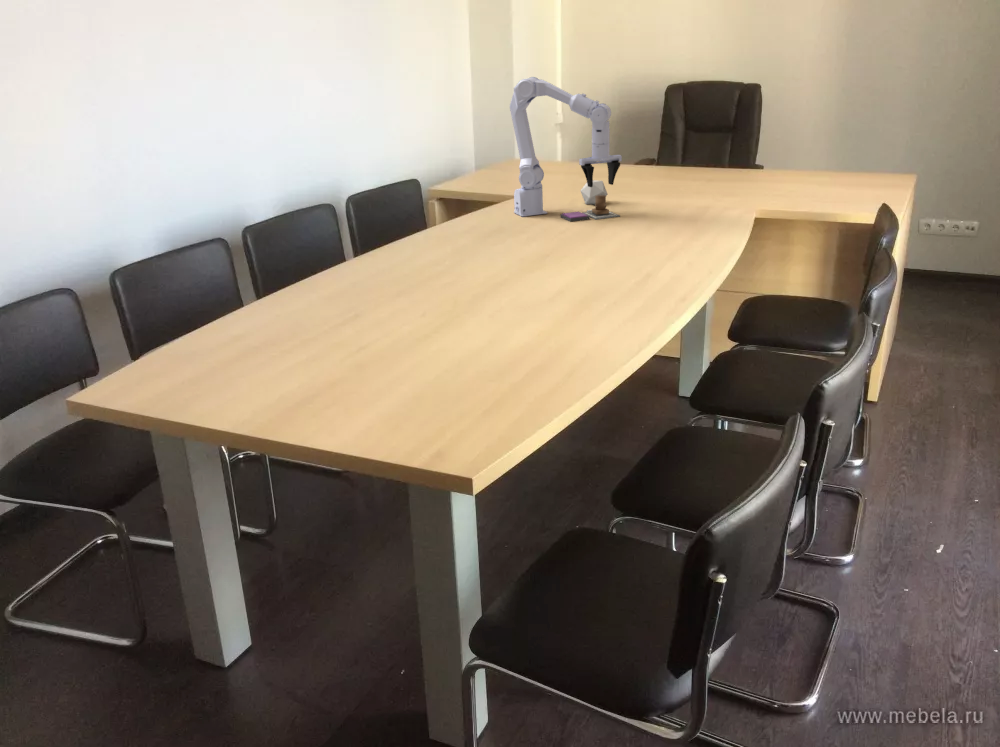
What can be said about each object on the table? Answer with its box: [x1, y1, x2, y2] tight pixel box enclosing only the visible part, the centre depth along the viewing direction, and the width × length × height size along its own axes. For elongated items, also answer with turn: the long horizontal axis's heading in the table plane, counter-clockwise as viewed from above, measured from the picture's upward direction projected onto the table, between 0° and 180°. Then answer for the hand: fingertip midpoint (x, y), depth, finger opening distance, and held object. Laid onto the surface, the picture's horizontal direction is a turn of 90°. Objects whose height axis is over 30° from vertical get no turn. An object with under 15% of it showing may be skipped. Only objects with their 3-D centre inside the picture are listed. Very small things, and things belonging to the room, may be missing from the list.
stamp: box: [591, 195, 610, 216], centre depth 281 cm, size 4×4×6 cm
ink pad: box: [559, 211, 591, 223], centre depth 279 cm, size 7×8×1 cm
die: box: [580, 179, 608, 206], centre depth 299 cm, size 8×9×10 cm
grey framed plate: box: [582, 209, 621, 220], centre depth 282 cm, size 9×11×1 cm
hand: (600, 185), depth 279 cm, fingers open, 7 cm apart
